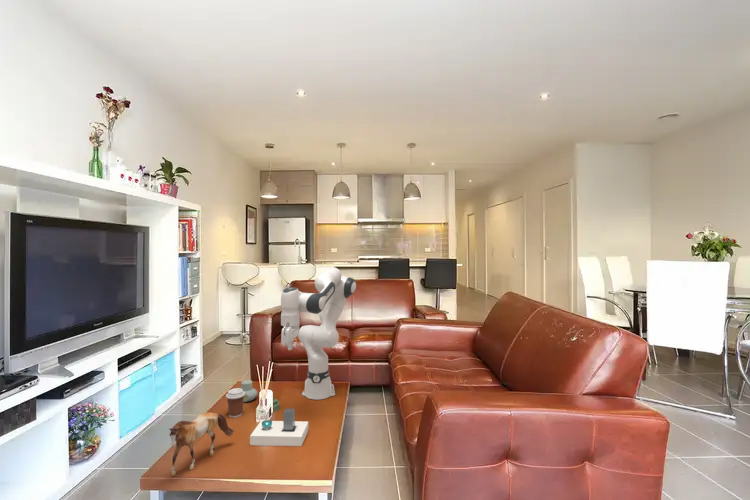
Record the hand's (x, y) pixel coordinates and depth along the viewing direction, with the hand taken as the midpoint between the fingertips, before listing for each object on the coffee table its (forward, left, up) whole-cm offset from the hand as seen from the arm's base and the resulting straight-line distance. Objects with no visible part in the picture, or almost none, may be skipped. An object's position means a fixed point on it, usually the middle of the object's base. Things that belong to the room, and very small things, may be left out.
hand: (290, 349), depth 187 cm
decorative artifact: (-11, -14, -34) cm, 39 cm away
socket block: (+18, 0, -34) cm, 39 cm away
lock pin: (+18, -6, -34) cm, 39 cm away
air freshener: (-22, -30, -34) cm, 51 cm away
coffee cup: (-4, -29, -34) cm, 45 cm away
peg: (+18, +4, -34) cm, 39 cm away
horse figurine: (+38, -24, -34) cm, 57 cm away
